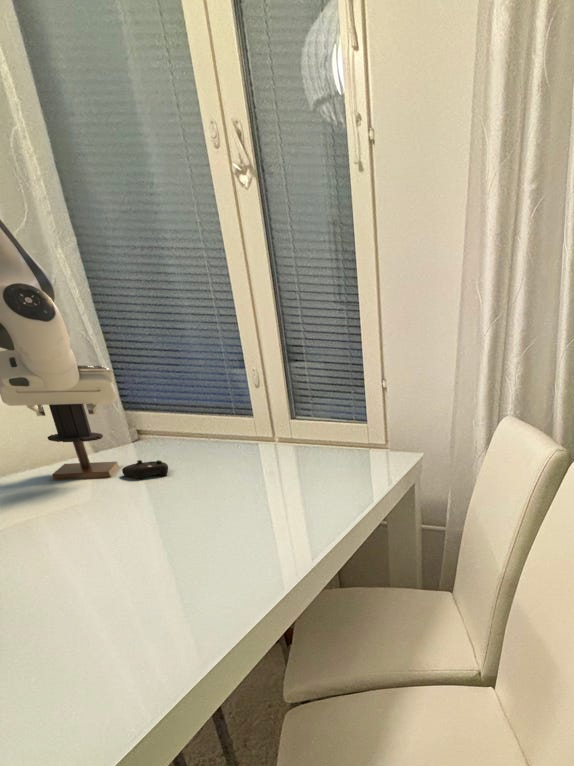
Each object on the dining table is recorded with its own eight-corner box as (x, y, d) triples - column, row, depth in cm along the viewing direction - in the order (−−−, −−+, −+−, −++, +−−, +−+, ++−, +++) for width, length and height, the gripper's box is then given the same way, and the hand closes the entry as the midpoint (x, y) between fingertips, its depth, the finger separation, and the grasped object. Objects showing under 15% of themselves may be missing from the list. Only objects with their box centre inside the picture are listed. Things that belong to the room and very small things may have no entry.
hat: (43, 442, 119) (29, 397, 114) (56, 435, 127) (43, 392, 123) (97, 441, 122) (85, 398, 118) (106, 434, 130) (95, 393, 126)
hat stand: (54, 480, 122) (26, 401, 114) (66, 470, 131) (41, 395, 123) (110, 478, 126) (87, 401, 118) (119, 467, 135) (98, 395, 127)
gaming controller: (164, 466, 133) (166, 451, 129) (174, 485, 133) (176, 470, 128) (120, 471, 127) (120, 455, 123) (130, 491, 127) (130, 476, 122)
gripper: (107, 353, 115) (117, 399, 127) (-17, 352, 105) (6, 402, 117) (115, 379, 114) (124, 422, 126) (-10, 380, 104) (13, 427, 116)
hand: (67, 412), depth 121 cm, fingers open, 8 cm apart
